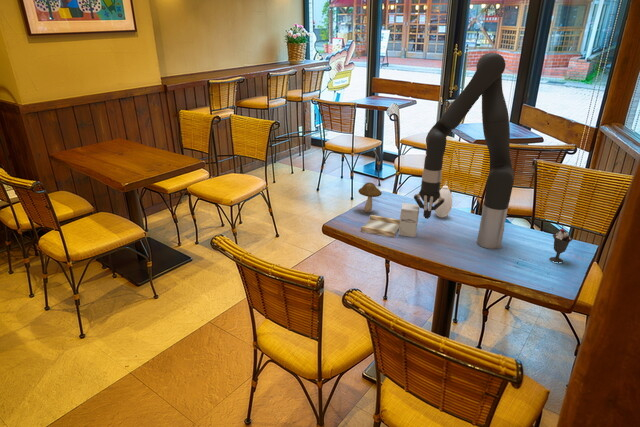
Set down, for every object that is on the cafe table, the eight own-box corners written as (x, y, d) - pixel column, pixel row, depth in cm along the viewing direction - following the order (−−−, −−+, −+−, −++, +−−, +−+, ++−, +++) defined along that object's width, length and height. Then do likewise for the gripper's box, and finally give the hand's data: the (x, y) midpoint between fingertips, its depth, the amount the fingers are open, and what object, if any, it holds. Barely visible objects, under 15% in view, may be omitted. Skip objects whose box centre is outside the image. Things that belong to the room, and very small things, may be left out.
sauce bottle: (443, 221, 198) (448, 185, 191) (429, 216, 203) (433, 180, 196) (453, 217, 202) (458, 181, 195) (439, 212, 208) (444, 176, 201)
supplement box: (397, 235, 185) (400, 208, 180) (400, 228, 191) (402, 202, 186) (415, 237, 183) (418, 210, 178) (417, 230, 189) (420, 204, 184)
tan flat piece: (401, 224, 194) (401, 220, 193) (393, 237, 183) (394, 232, 182) (370, 219, 199) (370, 214, 199) (361, 231, 188) (361, 226, 187)
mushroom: (375, 218, 201) (377, 188, 194) (353, 213, 206) (355, 183, 200) (383, 211, 208) (385, 182, 202) (362, 206, 213) (363, 178, 207)
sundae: (549, 254, 170) (557, 220, 164) (567, 260, 167) (577, 225, 161) (544, 261, 166) (553, 225, 160) (563, 266, 162) (573, 231, 156)
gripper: (449, 178, 175) (444, 217, 182) (417, 174, 179) (412, 212, 186) (447, 184, 168) (441, 224, 175) (413, 179, 173) (409, 218, 180)
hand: (426, 217), depth 181 cm, fingers closed
